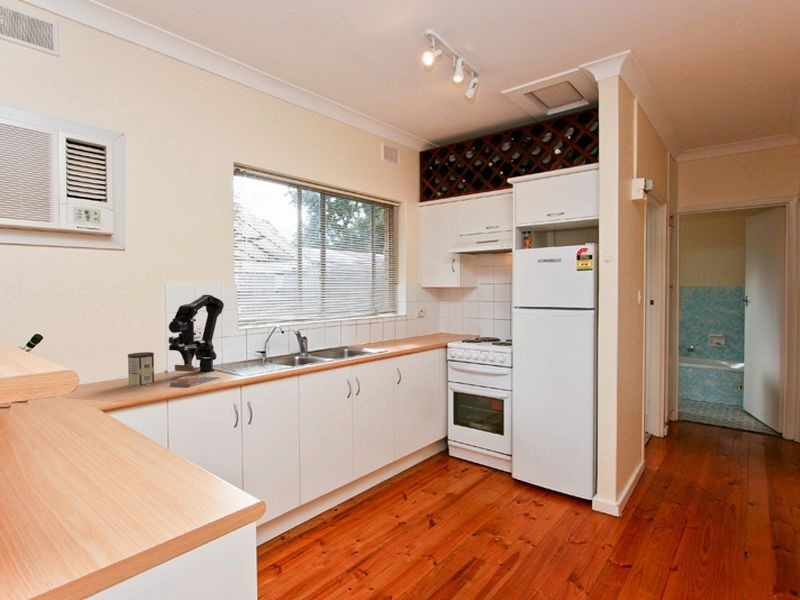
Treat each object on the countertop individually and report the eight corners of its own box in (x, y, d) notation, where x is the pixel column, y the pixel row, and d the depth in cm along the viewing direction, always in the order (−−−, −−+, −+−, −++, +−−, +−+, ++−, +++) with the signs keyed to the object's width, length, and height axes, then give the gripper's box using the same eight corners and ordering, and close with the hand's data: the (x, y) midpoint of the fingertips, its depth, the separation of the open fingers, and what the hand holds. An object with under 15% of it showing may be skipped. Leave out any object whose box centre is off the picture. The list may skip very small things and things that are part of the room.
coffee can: (138, 382, 208) (138, 352, 208) (159, 382, 207) (159, 352, 207) (122, 387, 198) (122, 355, 198) (144, 387, 197) (143, 355, 197)
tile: (186, 382, 205) (186, 375, 205) (198, 383, 204) (197, 376, 204) (177, 385, 200) (177, 378, 200) (188, 385, 198) (188, 379, 198)
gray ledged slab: (204, 377, 219) (203, 373, 219) (221, 378, 217) (221, 374, 217) (170, 386, 198) (170, 382, 198) (189, 387, 196) (189, 383, 195)
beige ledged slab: (183, 368, 224) (182, 352, 223) (200, 369, 221) (199, 353, 221) (174, 370, 218) (174, 354, 218) (192, 371, 216) (191, 355, 215)
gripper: (187, 329, 231) (187, 359, 231) (159, 332, 213) (159, 365, 213) (205, 329, 228) (206, 360, 228) (178, 333, 210) (179, 366, 210)
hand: (187, 362), depth 220 cm, fingers closed on beige ledged slab, 2 cm apart
